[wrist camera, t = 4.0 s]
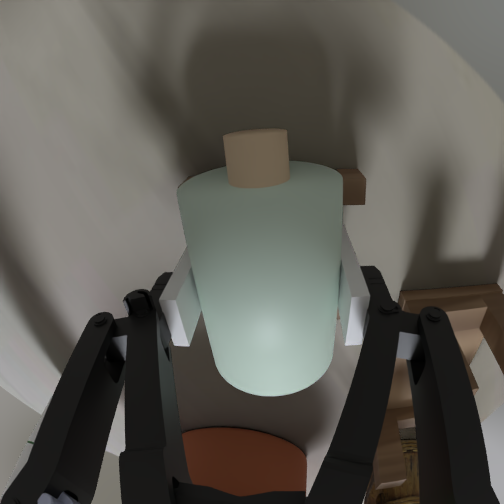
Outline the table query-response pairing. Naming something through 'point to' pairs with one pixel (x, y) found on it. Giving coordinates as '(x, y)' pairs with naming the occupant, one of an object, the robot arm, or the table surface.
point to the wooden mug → (407, 494)
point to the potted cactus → (243, 461)
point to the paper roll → (266, 262)
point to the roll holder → (469, 338)
